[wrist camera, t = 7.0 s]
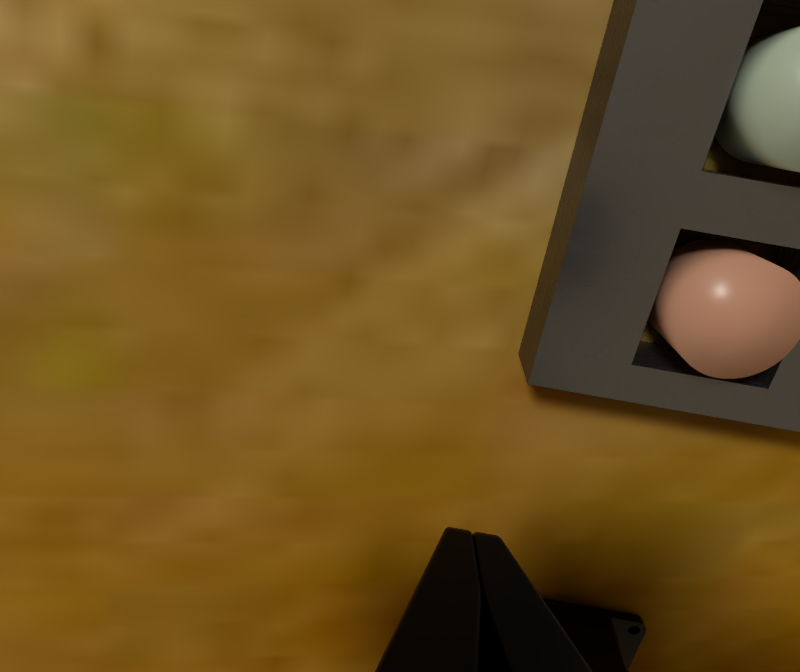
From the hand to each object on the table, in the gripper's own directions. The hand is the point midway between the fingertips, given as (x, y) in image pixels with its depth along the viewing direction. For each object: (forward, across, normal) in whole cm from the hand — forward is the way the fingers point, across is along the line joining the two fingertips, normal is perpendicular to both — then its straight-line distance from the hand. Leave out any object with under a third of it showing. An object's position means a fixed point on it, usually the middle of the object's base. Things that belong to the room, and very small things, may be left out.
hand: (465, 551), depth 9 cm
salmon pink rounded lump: (+12, -8, -2) cm, 14 cm away
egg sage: (+12, -8, -8) cm, 16 cm away
